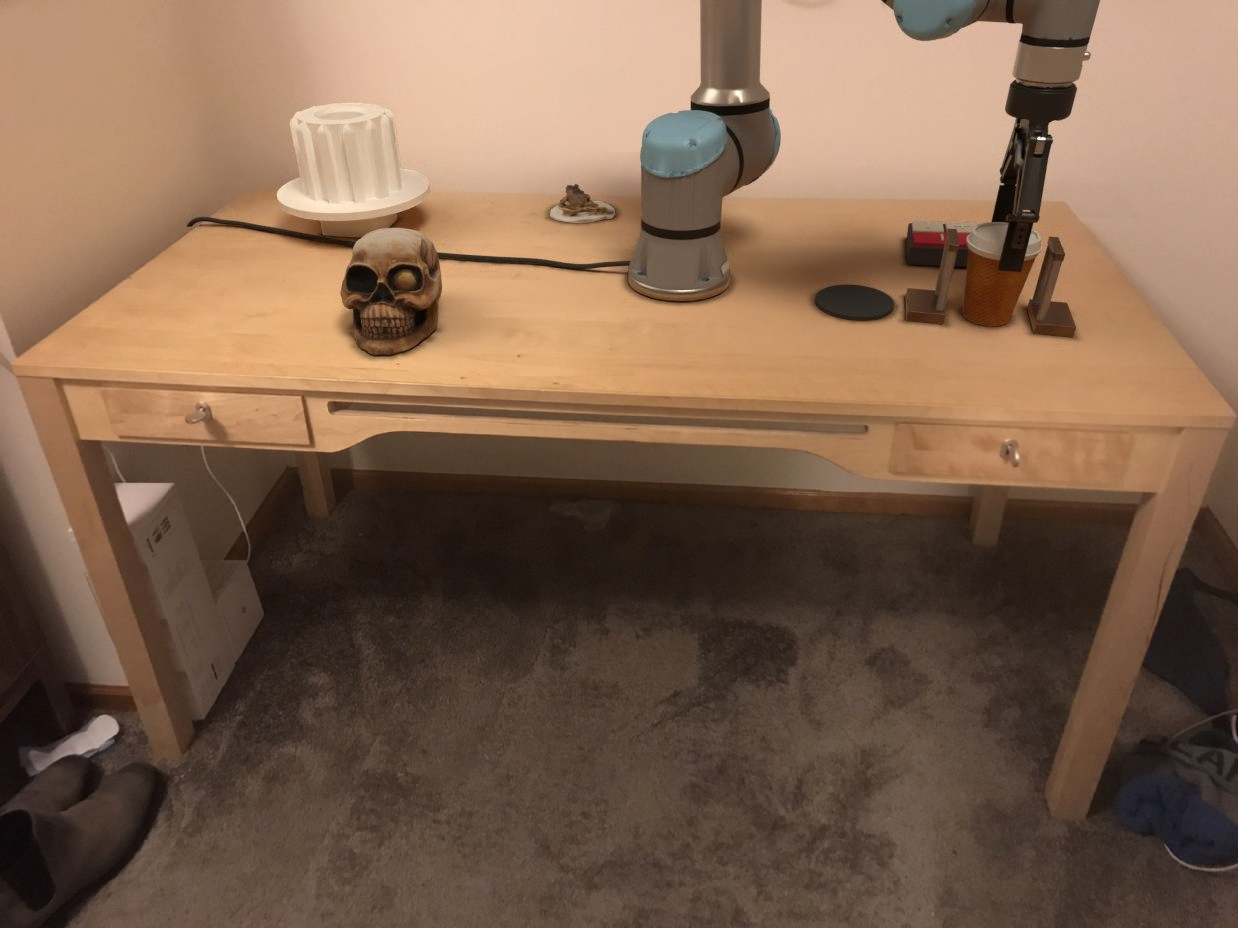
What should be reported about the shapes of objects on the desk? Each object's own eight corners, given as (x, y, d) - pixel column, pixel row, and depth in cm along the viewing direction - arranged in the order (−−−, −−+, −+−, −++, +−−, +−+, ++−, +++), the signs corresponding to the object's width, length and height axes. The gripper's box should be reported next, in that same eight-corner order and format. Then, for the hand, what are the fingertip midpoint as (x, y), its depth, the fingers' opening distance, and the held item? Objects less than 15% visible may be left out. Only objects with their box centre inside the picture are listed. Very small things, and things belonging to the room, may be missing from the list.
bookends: (906, 320, 124) (920, 244, 118) (905, 297, 131) (919, 223, 124) (1073, 337, 120) (1097, 259, 114) (1064, 312, 126) (1087, 237, 120)
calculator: (908, 218, 147) (1006, 220, 144) (905, 243, 150) (1001, 246, 146) (910, 242, 138) (1014, 245, 135) (907, 268, 141) (1009, 272, 138)
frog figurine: (538, 207, 164) (536, 186, 161) (598, 198, 168) (597, 177, 165) (561, 227, 155) (560, 205, 153) (624, 217, 159) (624, 195, 157)
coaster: (812, 316, 126) (812, 312, 125) (817, 285, 135) (818, 281, 134) (893, 324, 124) (894, 320, 123) (893, 292, 132) (894, 288, 132)
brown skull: (375, 360, 115) (355, 257, 109) (325, 326, 128) (305, 232, 121) (481, 330, 123) (469, 233, 117) (425, 301, 136) (411, 212, 129)
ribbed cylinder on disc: (404, 258, 144) (386, 137, 133) (258, 250, 147) (229, 130, 136) (452, 206, 164) (440, 97, 153) (323, 200, 168) (302, 92, 157)
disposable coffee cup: (952, 328, 123) (971, 243, 116) (948, 299, 130) (966, 218, 123) (1026, 335, 121) (1050, 249, 114) (1018, 305, 128) (1040, 223, 121)
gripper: (1097, 107, 97) (1047, 290, 109) (1062, 61, 117) (1023, 221, 129) (1023, 104, 99) (981, 285, 111) (1001, 60, 118) (968, 217, 130)
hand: (1004, 251), depth 120 cm, fingers open, 13 cm apart
